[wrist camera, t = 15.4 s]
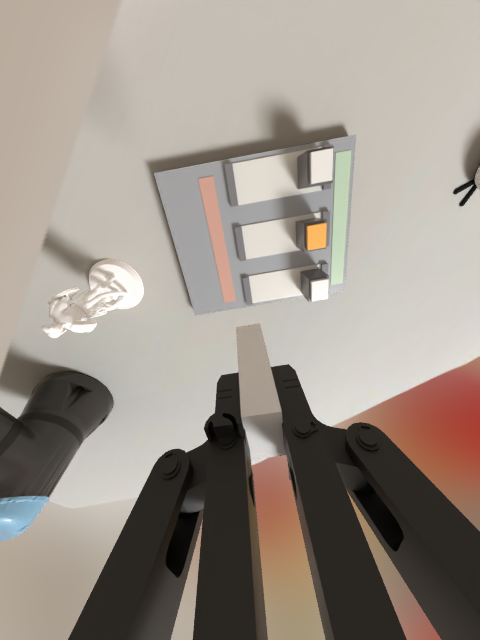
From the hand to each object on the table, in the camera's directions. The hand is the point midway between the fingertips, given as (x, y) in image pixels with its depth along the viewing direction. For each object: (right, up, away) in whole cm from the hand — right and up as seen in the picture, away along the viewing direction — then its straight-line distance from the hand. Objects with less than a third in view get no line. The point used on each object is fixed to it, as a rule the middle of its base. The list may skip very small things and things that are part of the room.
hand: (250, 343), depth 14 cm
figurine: (-22, +7, +23) cm, 32 cm away
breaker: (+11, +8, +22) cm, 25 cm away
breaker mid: (+9, +14, +18) cm, 25 cm away
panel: (+3, +14, +20) cm, 25 cm away
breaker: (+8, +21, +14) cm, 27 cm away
